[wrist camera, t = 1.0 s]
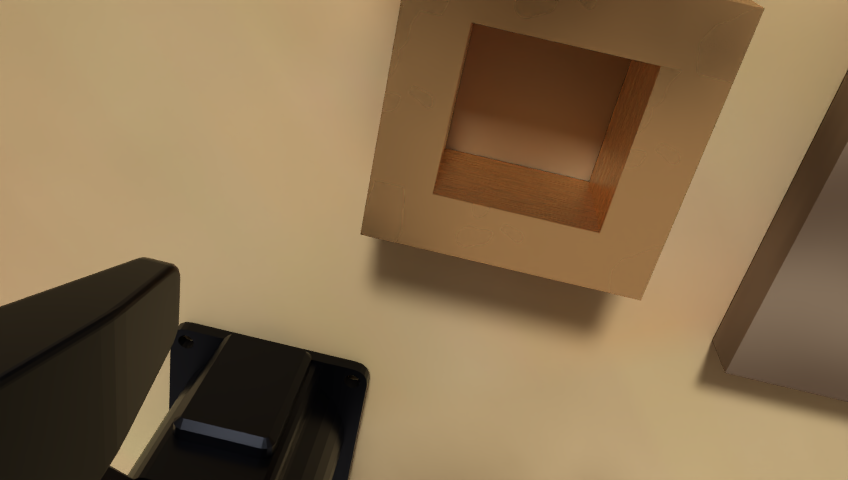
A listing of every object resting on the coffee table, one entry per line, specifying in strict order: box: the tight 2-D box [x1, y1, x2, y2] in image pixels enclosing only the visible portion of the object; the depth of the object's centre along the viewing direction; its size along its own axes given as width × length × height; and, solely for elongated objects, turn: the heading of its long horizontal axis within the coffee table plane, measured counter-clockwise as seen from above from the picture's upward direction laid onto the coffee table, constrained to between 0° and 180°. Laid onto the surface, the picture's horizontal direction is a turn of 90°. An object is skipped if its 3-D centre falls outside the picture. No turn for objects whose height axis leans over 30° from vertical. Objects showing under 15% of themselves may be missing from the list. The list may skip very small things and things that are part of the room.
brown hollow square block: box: [361, 0, 764, 300], centre depth 17 cm, size 7×7×3 cm
